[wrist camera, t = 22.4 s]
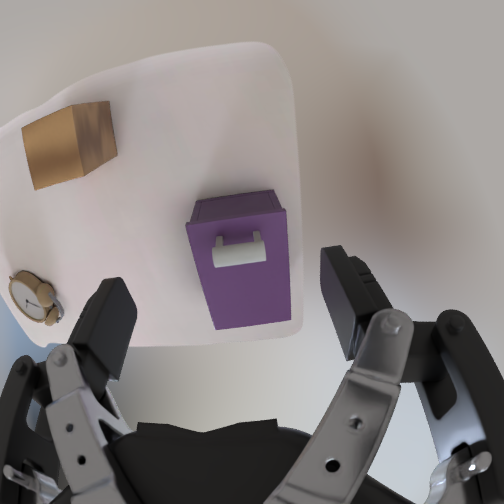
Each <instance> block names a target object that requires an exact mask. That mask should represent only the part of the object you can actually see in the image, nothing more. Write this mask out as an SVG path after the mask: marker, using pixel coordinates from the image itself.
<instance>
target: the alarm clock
mask: <svg viewBox="0 0 504 504" xmlns="http://www.w3.org/2000/svg"><path fill="white" fill-rule="evenodd" d="M9 278H10V280H11V282H10V283H9V292H10V295H11V298H12V300H13V302H14V303H15V305H16V306H17V308H18V309H19V310H20V311H21V312H22V313H23V314H24V315H25V316H26V317H28V318H29V319H31V320H32V321H35V322H38V323H42V322H44V321H45V320H46V321H45V324H46V325H47V326H52V325H53V324H54V323H55V322H57V323H58V322H59V320H61V319H62V317H63V315H64V310H63V307H62V305H61V304H60V302H59V301H58V300H57V299H56V298H55V294H54V290H53V288H52V287H51V286H50V285H49V284H46V283H41V281H40V280H38V279H37V278H36V277H35V276H34V275H32V274H30V273H29V272H25V271H22V272H19V273H18V274H17V275H16V277H15V278H14V279H13V278H12V277H11V276H9ZM53 302H54V303H55V304H56V305H57V306H58V308H59V310H60V313H61V317H59V318H58V316H59V311H58V309H57V307H56V306H54V308H53ZM46 318H47V319H46Z"/></svg>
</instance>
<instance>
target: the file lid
mask: <svg viewBox="0 0 504 504" xmlns="http://www.w3.org/2000/svg"><path fill="white" fill-rule="evenodd" d="M185 226H186V230H187V234H188V238H189V242H190V245H191V249H192V253H193V256H194V260H195V264H196V267H197V271H198V274H199V278H200V281H201V285H202V288H203V292H204V295H205V298H206V302H207V305H208V308H209V311H210V315H211V318H212V321H213V324H214V327H215V330H220V329H229V328H238V327H246V326H253V325H261V324H268V323H274V322H281V321H287V320H291V296H290V272H289V252H288V234H287V218H286V210H285V209H276V210H268V211H261V212H253V213H246V214H239V215H232V216H225V217H218V218H212V219H205V220H199V221H193V222H187V223H186V225H185Z"/></svg>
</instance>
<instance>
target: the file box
mask: <svg viewBox="0 0 504 504" xmlns="http://www.w3.org/2000/svg"><path fill="white" fill-rule="evenodd" d="M276 209H282V207H281V205H280V203H279V200H278V198H277V196H276V194H275V191H274V190H266V191H259V192H251V193H244V194H237V195H230V196H223V197H217V198H210V199H204V200H198V201H196V204H195V207H194V210H193V213H192V217H191V220H190V222H193V221H199V220H205V219H212V218H218V217H225V216H232V215H239V214H246V213H253V212H261V211H268V210H276Z"/></svg>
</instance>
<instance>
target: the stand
mask: <svg viewBox="0 0 504 504" xmlns="http://www.w3.org/2000/svg"><path fill="white" fill-rule="evenodd" d="M21 129H22V136H23V141H24V147H25V152H26V157H27V161H28V166H29V170H30V174H31V178H32V182H33V185H34V189H35V190H38V189H41V188H45V187H48V186H51V185H54V184H58V183H61V182H65V181H68V180H72V179H76V178H79V177H83V176H85V175H87V174H88V173H90V172H91V171H93V170H94V169H96V168H98V167H99V166H101V165H102V164H104V163H106V162H107V161H109V160H111V159H112V158H114V157H116V156H117V150H116V144H115V138H114V132H113V126H112V119H111V112H110V104H109V101H102V102H93V103H84V104H77V105H71V106H68V107H66V108H63V109H61V110H59V111H56V112H54V113H52V114H49V115H47V116H45V117H43V118H41V119H38V120H36V121H34V122H32V123H30V124H28V125H26V126H24V127H22V128H21Z"/></svg>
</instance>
